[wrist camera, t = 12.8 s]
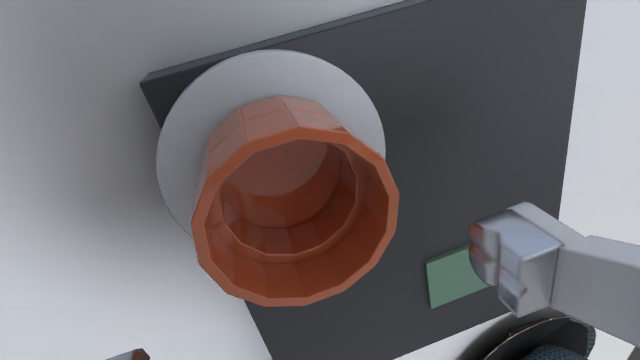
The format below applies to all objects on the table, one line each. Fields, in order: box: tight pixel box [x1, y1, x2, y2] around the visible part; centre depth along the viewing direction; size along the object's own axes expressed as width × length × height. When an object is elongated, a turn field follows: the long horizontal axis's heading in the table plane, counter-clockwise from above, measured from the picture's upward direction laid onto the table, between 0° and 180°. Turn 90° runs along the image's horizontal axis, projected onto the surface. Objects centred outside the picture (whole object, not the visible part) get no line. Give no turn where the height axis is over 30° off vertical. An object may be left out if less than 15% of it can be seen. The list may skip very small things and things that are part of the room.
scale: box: [139, 0, 587, 360], centre depth 20 cm, size 22×21×3 cm
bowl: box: [190, 96, 399, 307], centre depth 13 cm, size 7×7×4 cm
